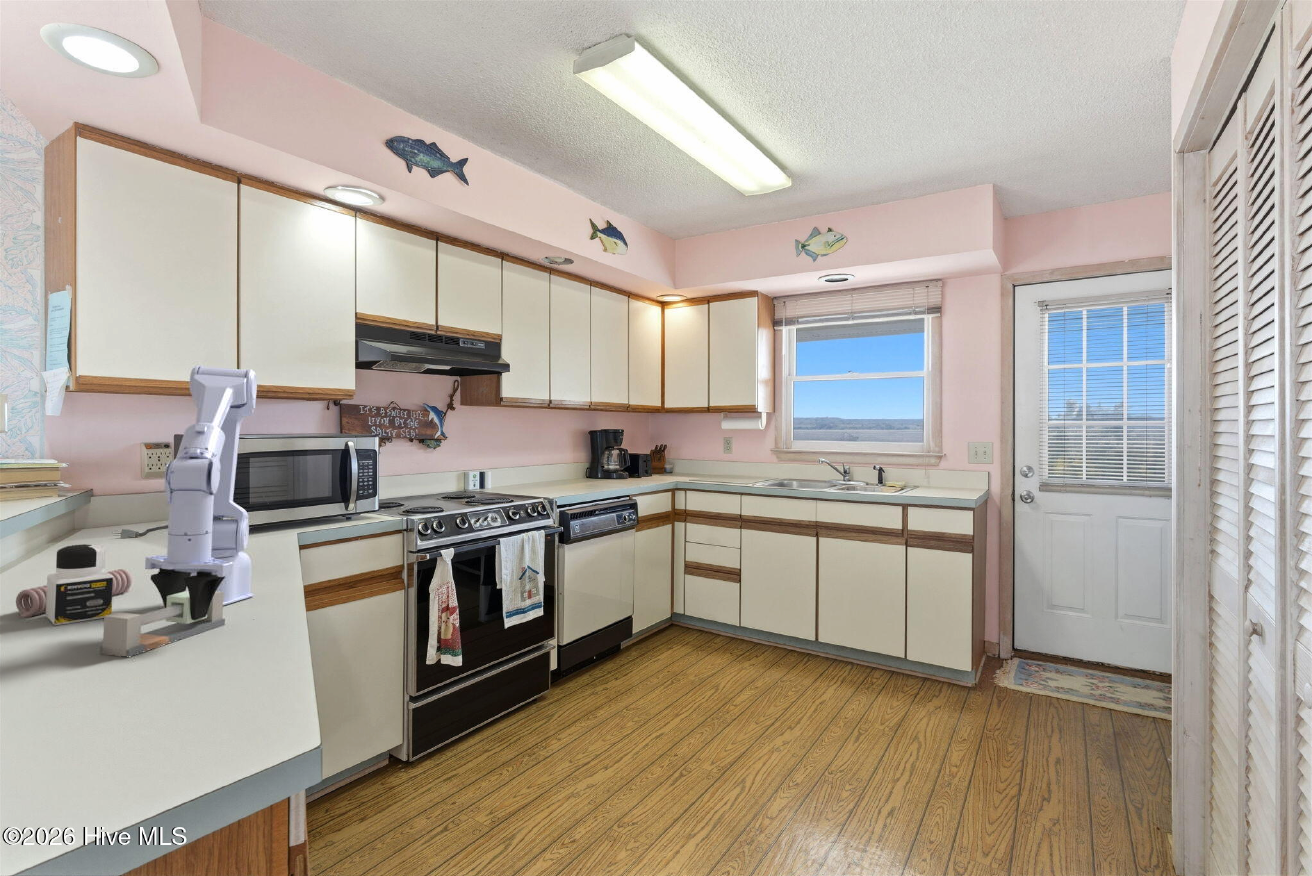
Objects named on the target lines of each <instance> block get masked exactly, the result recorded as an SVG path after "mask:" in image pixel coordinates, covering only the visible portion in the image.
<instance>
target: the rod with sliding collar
mask: <svg viewBox="0 0 1312 876" xmlns="http://www.w3.org/2000/svg"><path fill="white" fill-rule="evenodd" d="M223 593H224V592H221V591H216V592H215V594H214V596H213V598H212V601H211V603H210V606H209V609H208V612H207V618H204V619H201V620H198V621H194V622H191V623H188V624H185V623H176V622H174V623H171V624H169V625H166V626H165V625H164V626H163V627H159V628H156V629H152V630H149V631H147V632H144V633H143V632H142V633H141V631H142V626H145V625H149V624H152V623H155V622H159V621H162V620H166V618H169V617H173V616H176V615H179V614H183V612H184V603H181V604H178V605H174V606H171V607H167V608H165V607H164V608H161V609H157V610H153V611H150V612H149V611H148V612H146V613H143V614H139V613H138V614H137V613H126V612H119V611H118V612H114V613H111V614H110V615H106V616H104V618H103V639H102V646H100V647H99V654H100V655H107V656H113V655H115V656H114V657H121V656H128V657H129V656H132V657H134V656H133V655H135V656H137V655H136V654H137V653H141V652H143V651H147V650H148V649H152V648H155V649H157V648H156V647H158V646H161V645H163V644H167V643H169V642H173V641H175V640H179V639H181V640H185V639H187V638H190V637H193V636H195V635H199V634H201V633H204V632H208V631H210V630H212V629H216V628H219V627H222V626H225V623H226V618H224V617H223V613H224V612H223V610H224V605H223ZM207 630H208V631H207ZM198 633H199V634H198ZM192 635H193V636H192ZM186 637H187V638H186ZM179 641H180V640H179ZM173 643H174V642H173ZM167 645H168V644H167ZM161 647H162V646H161ZM158 648H159V647H158ZM152 650H153V649H152ZM147 652H148V651H147ZM141 654H142V653H141ZM128 657H127V658H128ZM129 658H130V657H129Z"/></svg>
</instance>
